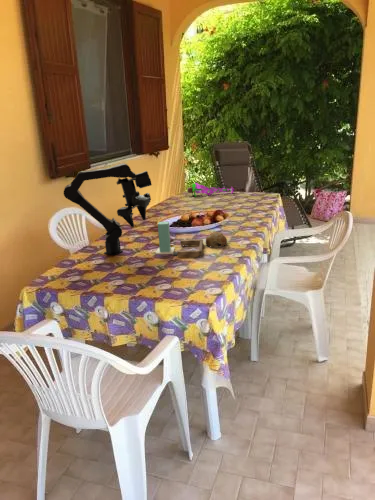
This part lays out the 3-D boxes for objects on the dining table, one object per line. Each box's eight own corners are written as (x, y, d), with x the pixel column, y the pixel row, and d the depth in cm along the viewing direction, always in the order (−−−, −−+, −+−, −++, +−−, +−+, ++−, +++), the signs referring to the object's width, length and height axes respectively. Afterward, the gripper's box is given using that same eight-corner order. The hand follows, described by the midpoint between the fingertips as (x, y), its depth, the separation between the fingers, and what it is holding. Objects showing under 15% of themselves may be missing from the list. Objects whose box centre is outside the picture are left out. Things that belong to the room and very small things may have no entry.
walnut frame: (177, 257, 191) (177, 251, 190) (180, 245, 207) (180, 240, 207) (201, 256, 190) (201, 251, 189) (203, 244, 206) (202, 239, 206)
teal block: (159, 251, 197) (157, 224, 193) (161, 248, 202) (159, 221, 198) (169, 251, 197) (167, 224, 193) (170, 248, 201) (168, 221, 197)
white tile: (155, 254, 196) (155, 253, 196) (157, 248, 204) (157, 247, 204) (173, 253, 195) (173, 252, 195) (174, 248, 203) (174, 247, 203)
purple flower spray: (186, 201, 324) (231, 201, 329) (189, 193, 308) (237, 193, 313) (185, 185, 326) (230, 185, 332) (188, 177, 310) (235, 177, 316)
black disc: (179, 256, 192) (179, 255, 191) (170, 255, 194) (170, 254, 194) (186, 253, 195) (186, 252, 195) (177, 251, 198) (177, 251, 198)
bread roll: (208, 255, 203) (210, 242, 197) (202, 240, 210) (203, 228, 205) (228, 252, 205) (230, 239, 200) (221, 238, 212) (223, 225, 207)
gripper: (131, 196, 183) (141, 230, 189) (155, 183, 198) (163, 215, 203) (111, 198, 189) (121, 231, 195) (136, 185, 204) (144, 216, 209)
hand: (138, 223), depth 200 cm, fingers open, 9 cm apart
